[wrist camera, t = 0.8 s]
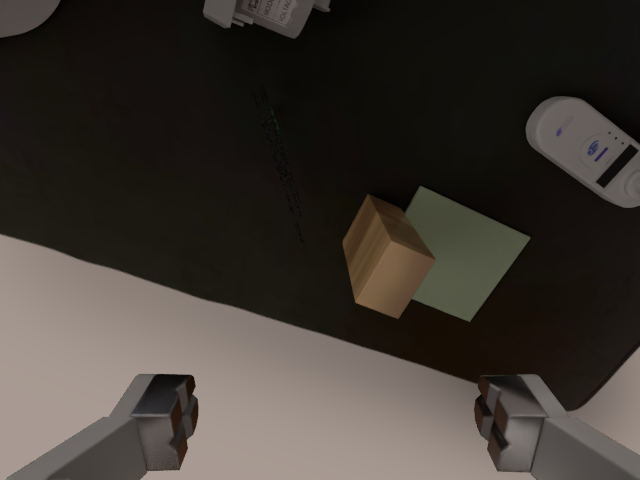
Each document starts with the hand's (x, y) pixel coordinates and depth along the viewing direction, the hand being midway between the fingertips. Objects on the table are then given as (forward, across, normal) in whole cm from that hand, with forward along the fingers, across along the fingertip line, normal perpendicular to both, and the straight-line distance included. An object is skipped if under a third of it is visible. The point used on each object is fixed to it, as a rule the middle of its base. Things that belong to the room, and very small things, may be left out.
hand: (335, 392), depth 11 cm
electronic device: (+32, -26, -2) cm, 41 cm away
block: (+31, -5, +5) cm, 32 cm away
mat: (+31, -13, +9) cm, 35 cm away
